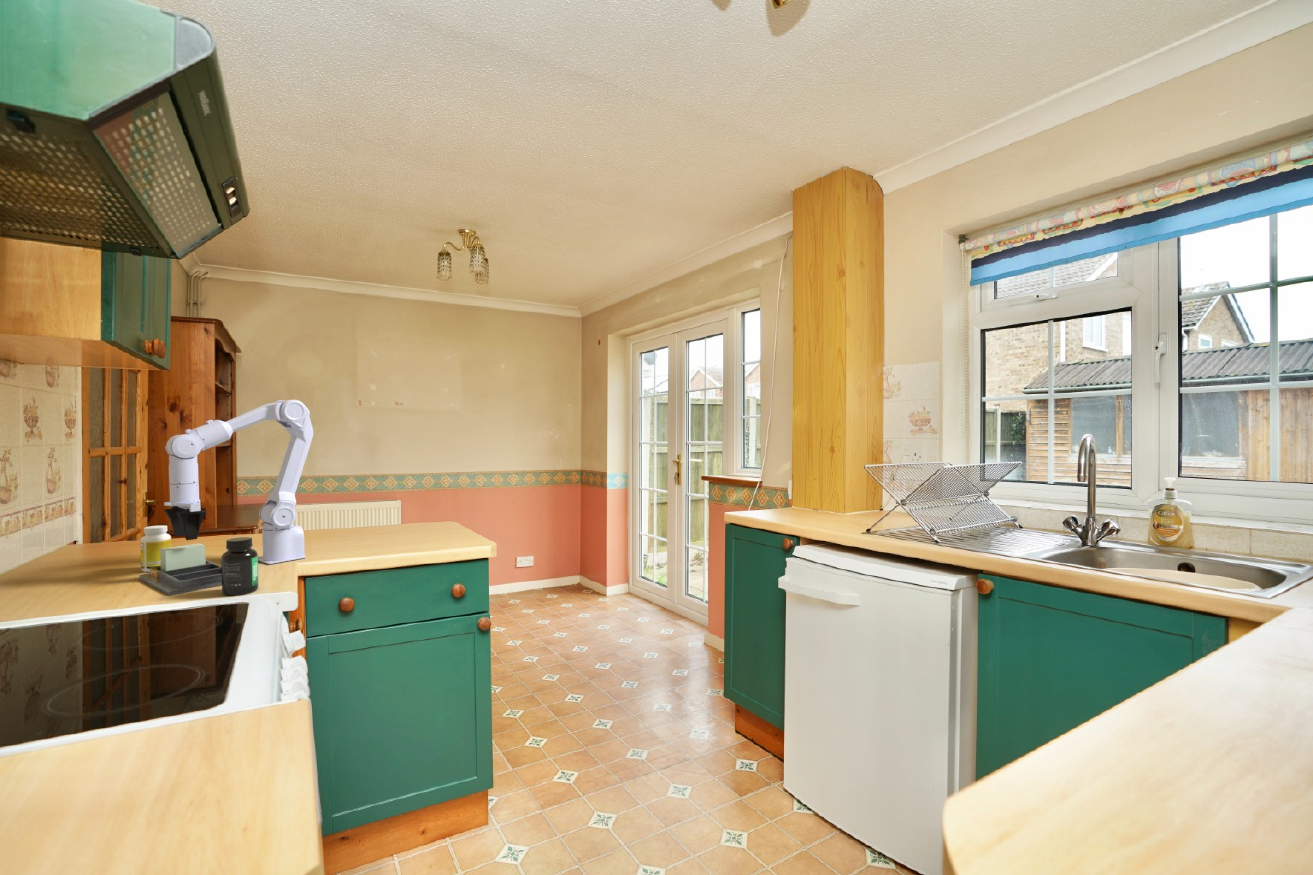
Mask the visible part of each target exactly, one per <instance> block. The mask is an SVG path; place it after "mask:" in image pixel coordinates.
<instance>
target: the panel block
mask: <svg viewBox="0 0 1313 875" xmlns="http://www.w3.org/2000/svg"><path fill="white" fill-rule="evenodd" d="M206 560H207V558H206V545H205V544H203V543H199V542H198V543H192V544H185V545H177V546H172V547H169V548H162V549H160V562H161V571H162V572H163V571H169V570H175V569H181V568H186V567H192V566H198V565H204V564H206Z"/></svg>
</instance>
